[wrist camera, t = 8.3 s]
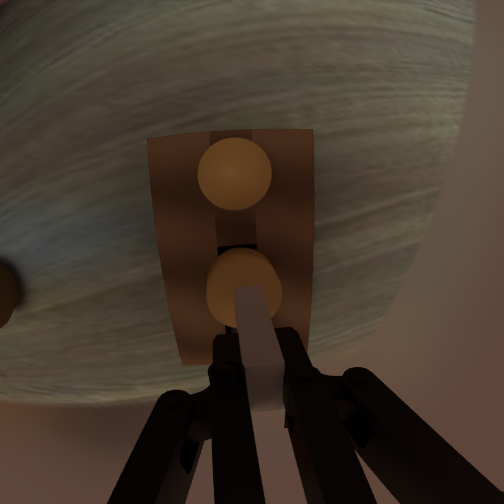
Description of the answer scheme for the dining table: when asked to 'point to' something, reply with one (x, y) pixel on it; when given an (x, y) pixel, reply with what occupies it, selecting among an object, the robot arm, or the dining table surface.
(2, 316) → the squeeze bottle
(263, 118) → the dining table surface
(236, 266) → the knob middle
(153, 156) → the brown rectangular block
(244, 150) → the knob
